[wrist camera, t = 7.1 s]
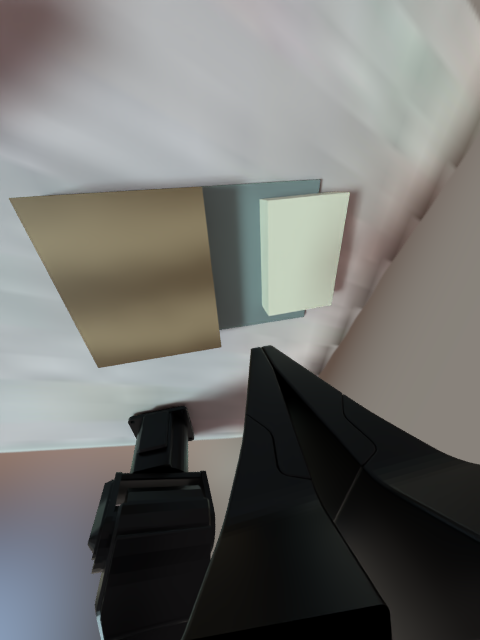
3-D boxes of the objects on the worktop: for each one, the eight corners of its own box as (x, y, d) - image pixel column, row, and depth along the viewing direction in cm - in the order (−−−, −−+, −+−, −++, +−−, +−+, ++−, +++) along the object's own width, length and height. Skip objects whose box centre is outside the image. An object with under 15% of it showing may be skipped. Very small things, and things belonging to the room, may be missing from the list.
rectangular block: (268, 316, 19) (262, 305, 21) (331, 305, 20) (320, 296, 22) (267, 200, 15) (259, 199, 16) (349, 192, 16) (333, 191, 17)
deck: (217, 328, 22) (221, 347, 19) (109, 345, 20) (98, 368, 18) (199, 186, 15) (202, 186, 13) (40, 196, 14) (8, 198, 11)
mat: (302, 315, 23) (303, 316, 23) (217, 328, 22) (217, 330, 22) (318, 179, 17) (320, 179, 17) (199, 186, 15) (199, 186, 15)
